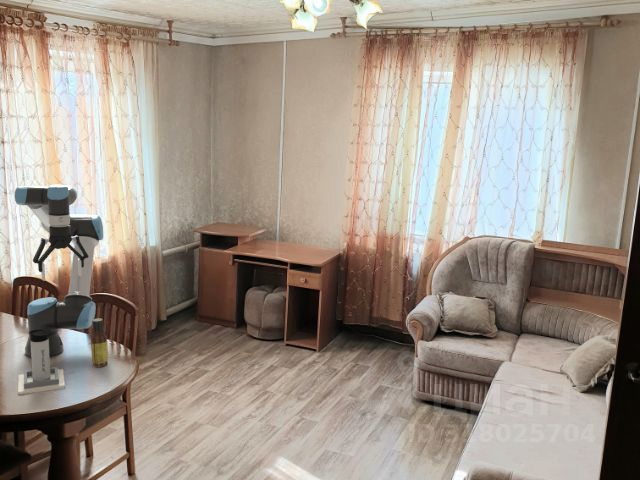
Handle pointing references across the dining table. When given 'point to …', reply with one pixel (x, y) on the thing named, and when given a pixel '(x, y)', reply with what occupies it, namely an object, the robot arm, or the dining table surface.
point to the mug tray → (40, 382)
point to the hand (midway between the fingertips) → (62, 277)
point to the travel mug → (40, 355)
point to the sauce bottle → (99, 344)
